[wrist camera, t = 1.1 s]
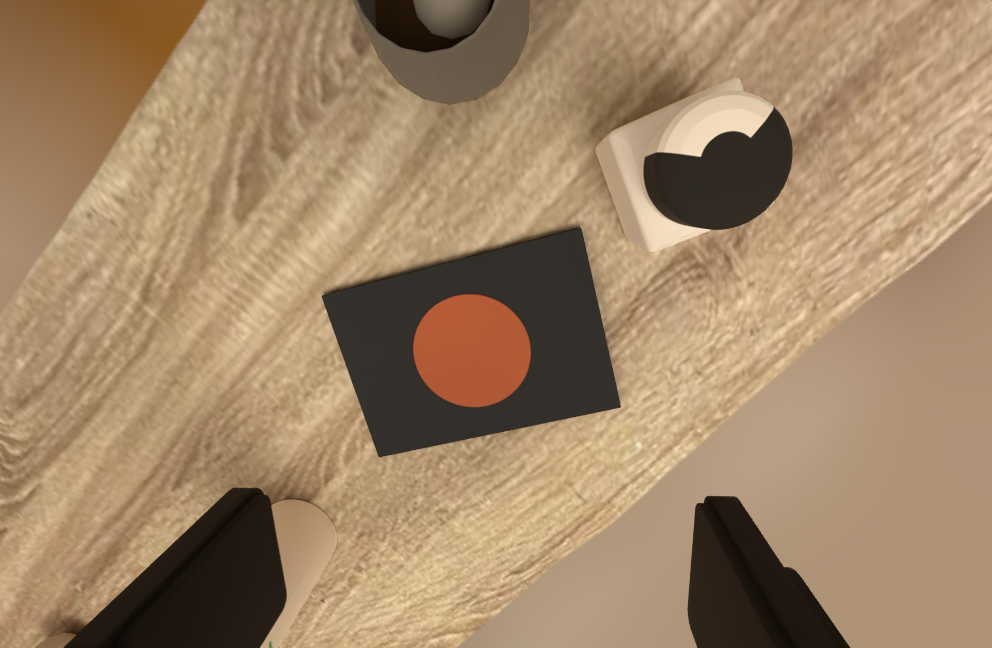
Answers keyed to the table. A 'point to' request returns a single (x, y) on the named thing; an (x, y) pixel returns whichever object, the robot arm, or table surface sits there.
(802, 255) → the table surface
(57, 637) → the rubber duck
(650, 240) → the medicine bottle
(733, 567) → the robot arm
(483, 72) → the cup
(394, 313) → the mat
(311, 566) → the cylindrical container
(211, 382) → the table surface
